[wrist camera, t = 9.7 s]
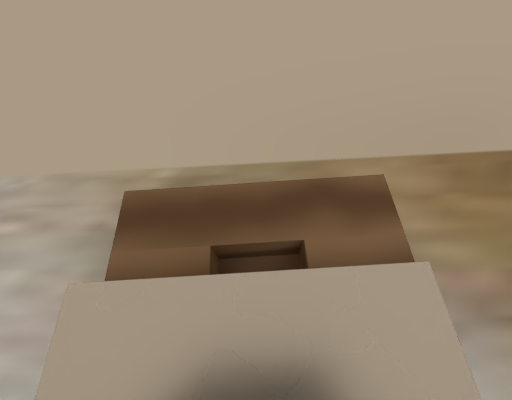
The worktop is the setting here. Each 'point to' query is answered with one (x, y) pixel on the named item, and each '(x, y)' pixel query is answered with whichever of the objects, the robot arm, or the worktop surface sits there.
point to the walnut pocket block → (257, 228)
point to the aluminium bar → (260, 338)
